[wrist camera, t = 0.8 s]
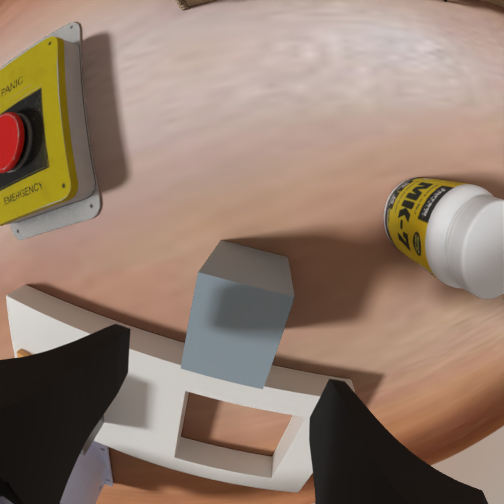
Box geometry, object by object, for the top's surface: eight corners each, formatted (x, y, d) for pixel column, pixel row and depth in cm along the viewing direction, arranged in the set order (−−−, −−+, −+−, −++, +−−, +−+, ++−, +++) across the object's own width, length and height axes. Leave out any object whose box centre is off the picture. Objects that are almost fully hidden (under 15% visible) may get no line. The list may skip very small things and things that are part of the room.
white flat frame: (297, 472, 23) (298, 497, 20) (39, 391, 23) (23, 409, 20) (351, 379, 20) (360, 407, 17) (25, 284, 20) (1, 298, 17)
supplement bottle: (394, 165, 17) (477, 168, 8) (454, 192, 17) (545, 212, 9) (370, 242, 18) (436, 296, 10) (432, 262, 18) (510, 317, 10)
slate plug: (265, 330, 20) (262, 389, 14) (204, 314, 20) (180, 368, 14) (287, 256, 18) (294, 296, 13) (221, 239, 18) (198, 272, 13)
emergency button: (-18, 255, 16) (-34, 64, 12) (19, 240, 20) (1, 72, 16) (70, 226, 15) (51, -1, 11) (108, 214, 19) (84, 20, 15)
